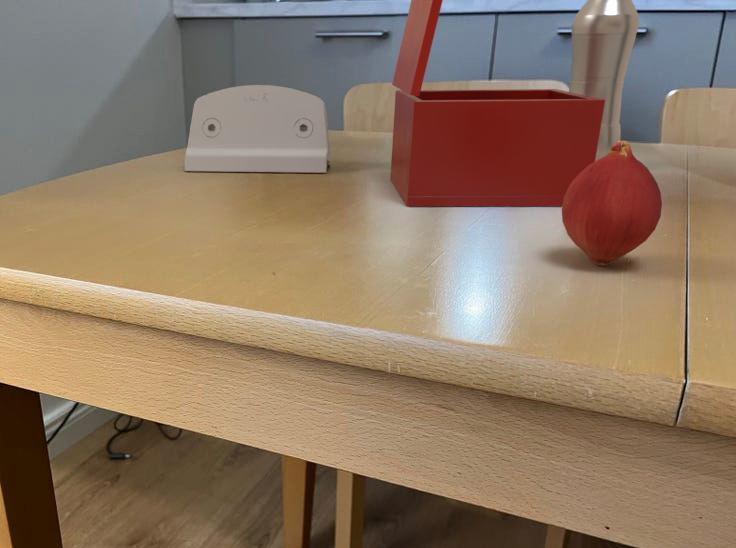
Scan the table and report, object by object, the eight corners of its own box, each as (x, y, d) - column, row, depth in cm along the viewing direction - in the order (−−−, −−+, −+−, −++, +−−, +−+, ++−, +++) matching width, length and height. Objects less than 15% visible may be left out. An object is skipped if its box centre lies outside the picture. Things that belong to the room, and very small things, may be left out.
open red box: (543, 180, 78) (556, 89, 74) (587, 206, 66) (605, 99, 63) (390, 180, 79) (395, 90, 75) (407, 206, 67) (414, 101, 63)
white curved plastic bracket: (181, 170, 85) (183, 80, 84) (190, 178, 89) (192, 92, 89) (329, 172, 83) (333, 79, 82) (330, 180, 87) (334, 92, 87)
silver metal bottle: (618, 171, 82) (655, -36, 74) (552, 169, 84) (581, -33, 76) (613, 162, 87) (647, -31, 79) (551, 160, 89) (578, -29, 81)
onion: (551, 250, 53) (569, 133, 50) (640, 255, 52) (664, 135, 48) (557, 273, 48) (577, 145, 45) (655, 280, 47) (683, 147, 43)
